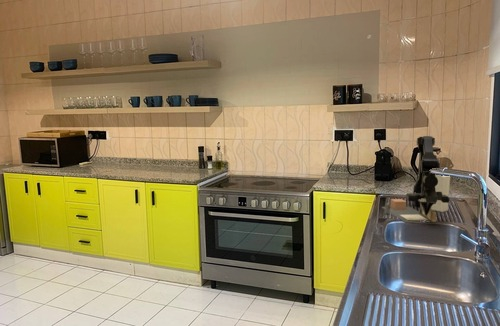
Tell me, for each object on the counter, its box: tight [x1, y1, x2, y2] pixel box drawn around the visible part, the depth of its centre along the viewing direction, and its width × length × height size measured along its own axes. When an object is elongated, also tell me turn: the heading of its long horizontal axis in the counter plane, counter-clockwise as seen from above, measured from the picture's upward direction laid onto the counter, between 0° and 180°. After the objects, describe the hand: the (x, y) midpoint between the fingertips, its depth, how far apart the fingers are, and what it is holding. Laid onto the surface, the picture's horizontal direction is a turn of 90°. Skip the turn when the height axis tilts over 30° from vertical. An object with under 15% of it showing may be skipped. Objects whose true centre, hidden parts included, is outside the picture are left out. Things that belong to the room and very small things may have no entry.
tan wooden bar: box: [422, 207, 438, 223], centre depth 196 cm, size 15×2×4 cm, turn 174°
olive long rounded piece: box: [384, 202, 422, 216], centre depth 205 cm, size 21×2×6 cm, turn 93°
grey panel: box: [381, 206, 438, 224], centre depth 205 cm, size 16×30×1 cm, turn 3°
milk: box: [431, 175, 451, 213], centre depth 212 cm, size 6×6×22 cm
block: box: [390, 198, 407, 210], centre depth 216 cm, size 6×6×4 cm
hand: (425, 215), depth 193 cm, fingers closed
